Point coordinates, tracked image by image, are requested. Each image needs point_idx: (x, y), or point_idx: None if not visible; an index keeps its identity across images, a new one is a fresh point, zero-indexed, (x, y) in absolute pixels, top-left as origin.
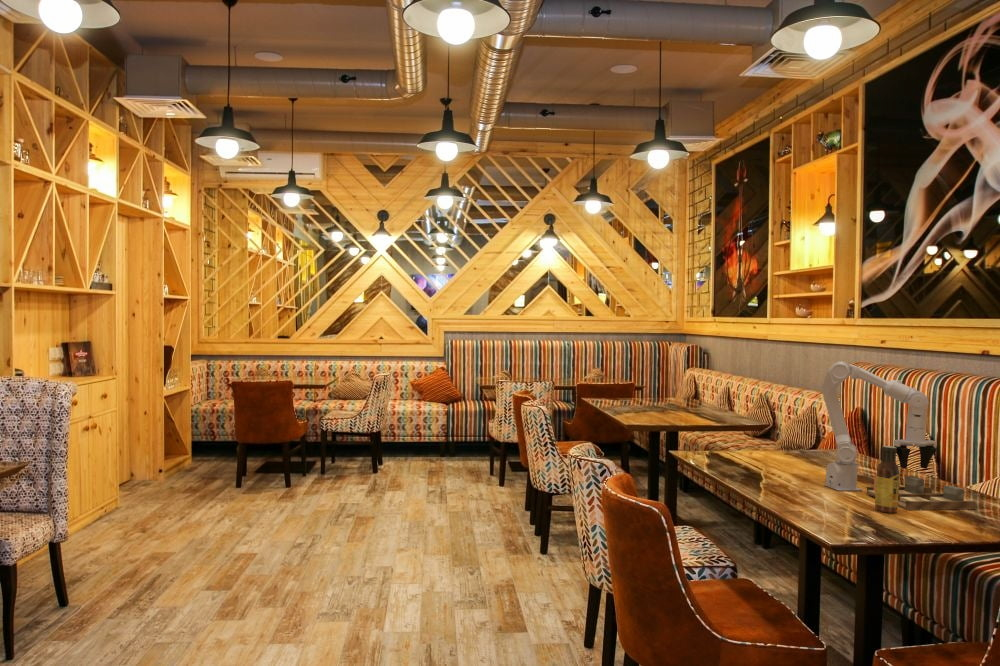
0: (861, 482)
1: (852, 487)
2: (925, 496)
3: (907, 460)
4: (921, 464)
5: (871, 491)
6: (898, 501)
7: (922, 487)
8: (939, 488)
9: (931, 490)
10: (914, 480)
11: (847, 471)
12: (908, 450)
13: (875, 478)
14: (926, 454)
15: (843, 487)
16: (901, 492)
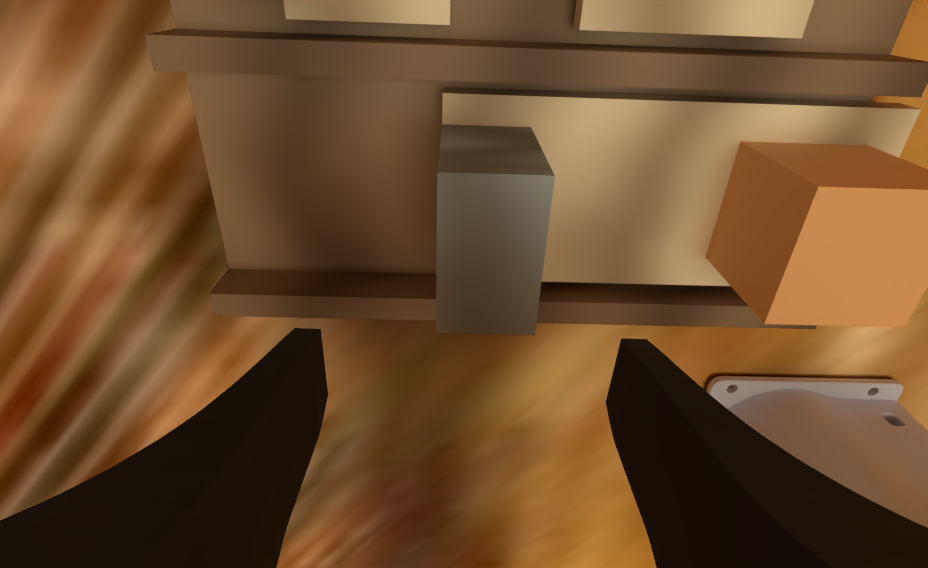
0: (509, 530)
1: (794, 396)
2: (488, 43)
3: (684, 404)
4: (318, 416)
5: None
6: (814, 13)
7: (456, 144)
8: (45, 416)
9: (223, 280)
10: (549, 195)
11: (917, 500)
12: (879, 556)
13: (909, 308)
14: (236, 513)
15: (850, 404)
16: (603, 205)
